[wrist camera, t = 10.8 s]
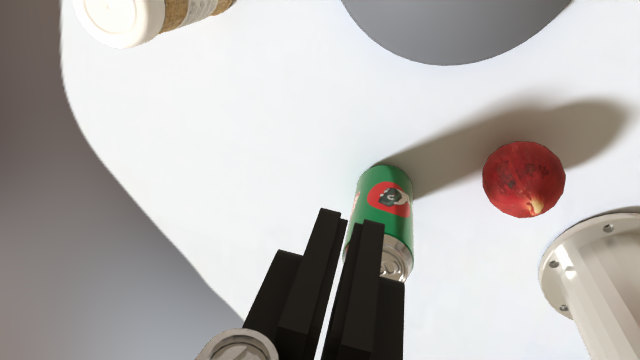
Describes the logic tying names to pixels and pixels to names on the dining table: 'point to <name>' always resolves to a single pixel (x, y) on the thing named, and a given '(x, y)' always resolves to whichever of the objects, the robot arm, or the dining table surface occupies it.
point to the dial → (452, 26)
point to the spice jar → (141, 18)
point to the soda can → (387, 217)
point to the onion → (523, 179)
